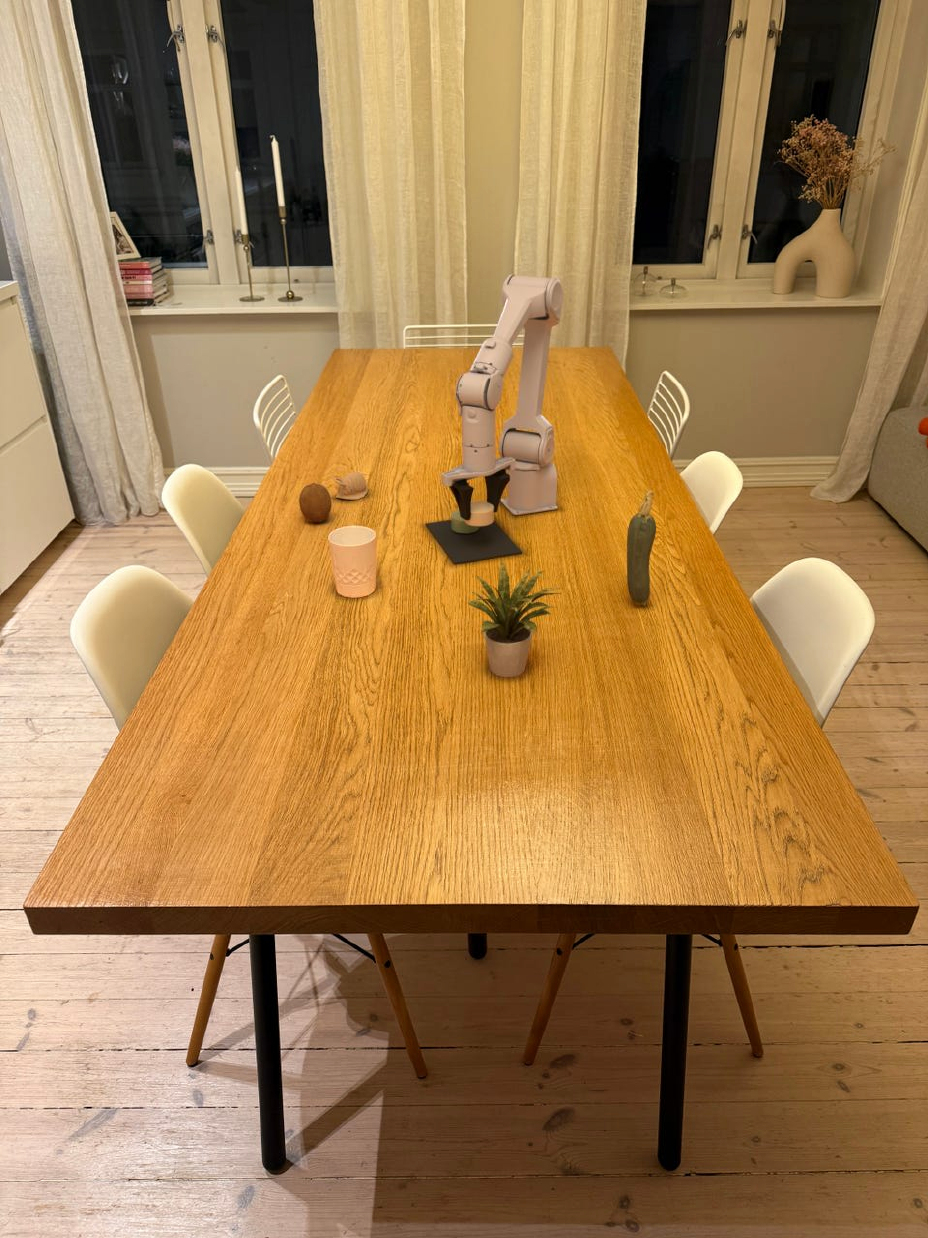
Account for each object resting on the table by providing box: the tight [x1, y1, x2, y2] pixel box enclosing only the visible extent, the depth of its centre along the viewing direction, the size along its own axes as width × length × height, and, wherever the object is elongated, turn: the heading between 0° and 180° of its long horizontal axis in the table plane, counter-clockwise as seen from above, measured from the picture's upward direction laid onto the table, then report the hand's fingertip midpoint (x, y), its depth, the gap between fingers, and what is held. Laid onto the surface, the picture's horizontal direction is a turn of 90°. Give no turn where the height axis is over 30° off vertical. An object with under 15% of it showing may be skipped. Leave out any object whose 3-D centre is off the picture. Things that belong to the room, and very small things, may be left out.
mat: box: [425, 519, 523, 565], centre depth 180 cm, size 13×18×1 cm
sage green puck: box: [450, 509, 480, 533], centre depth 182 cm, size 5×5×3 cm
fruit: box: [298, 482, 332, 523], centre depth 186 cm, size 6×6×8 cm
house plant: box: [467, 560, 563, 678], centre depth 136 cm, size 14×14×16 cm
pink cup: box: [327, 525, 377, 599], centre depth 161 cm, size 8×8×10 cm
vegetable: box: [626, 488, 657, 607], centre depth 152 cm, size 4×4×20 cm
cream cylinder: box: [464, 500, 495, 526], centre depth 173 cm, size 5×5×3 cm
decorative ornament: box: [333, 471, 369, 501], centre depth 197 cm, size 4×8×5 cm, turn 129°
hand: (479, 514), depth 173 cm, fingers closed on cream cylinder, 5 cm apart
